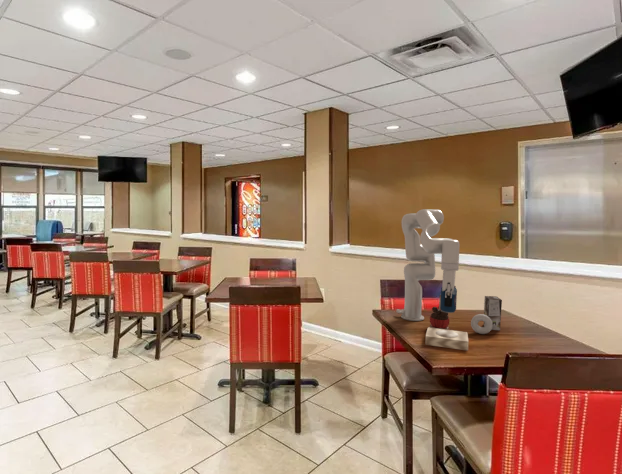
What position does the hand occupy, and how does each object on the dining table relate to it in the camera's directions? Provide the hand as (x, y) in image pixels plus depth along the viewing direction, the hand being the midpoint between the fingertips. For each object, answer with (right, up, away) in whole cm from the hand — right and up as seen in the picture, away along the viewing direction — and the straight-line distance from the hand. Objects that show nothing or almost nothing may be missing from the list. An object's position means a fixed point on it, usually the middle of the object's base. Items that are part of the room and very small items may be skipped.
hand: (448, 304), depth 169 cm
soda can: (0, -3, 0) cm, 3 cm away
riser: (0, -18, +1) cm, 18 cm away
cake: (+3, -17, +21) cm, 27 cm away
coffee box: (+33, -17, +26) cm, 45 cm away
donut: (+22, -18, +15) cm, 32 cm away
